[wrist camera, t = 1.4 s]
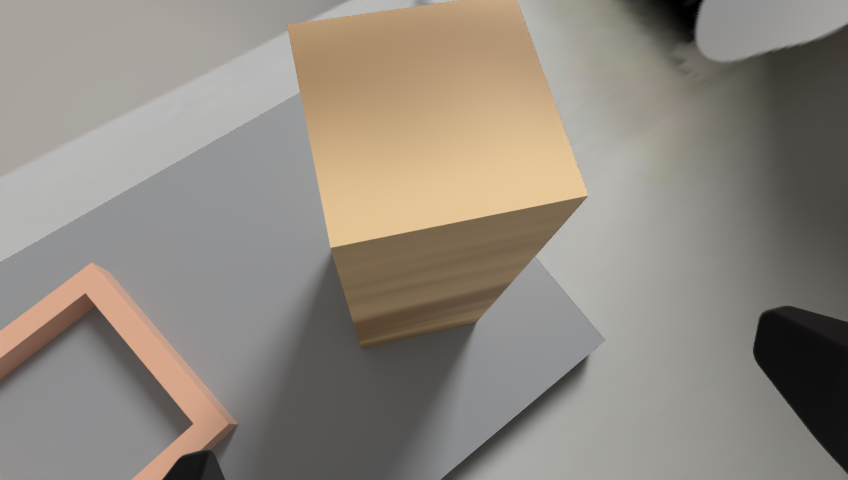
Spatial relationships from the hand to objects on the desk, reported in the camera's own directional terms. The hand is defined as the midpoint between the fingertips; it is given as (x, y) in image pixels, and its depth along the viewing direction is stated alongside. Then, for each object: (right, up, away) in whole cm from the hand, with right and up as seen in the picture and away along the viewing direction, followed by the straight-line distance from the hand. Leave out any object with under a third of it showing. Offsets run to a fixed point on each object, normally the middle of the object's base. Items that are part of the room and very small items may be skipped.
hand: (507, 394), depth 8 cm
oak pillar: (-2, +1, +13) cm, 13 cm away
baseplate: (-8, -2, +13) cm, 15 cm away
